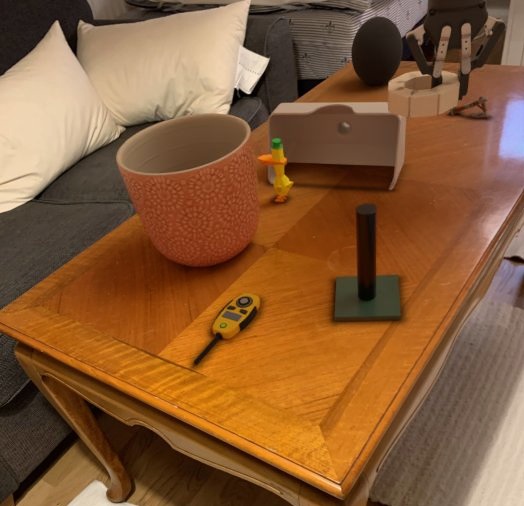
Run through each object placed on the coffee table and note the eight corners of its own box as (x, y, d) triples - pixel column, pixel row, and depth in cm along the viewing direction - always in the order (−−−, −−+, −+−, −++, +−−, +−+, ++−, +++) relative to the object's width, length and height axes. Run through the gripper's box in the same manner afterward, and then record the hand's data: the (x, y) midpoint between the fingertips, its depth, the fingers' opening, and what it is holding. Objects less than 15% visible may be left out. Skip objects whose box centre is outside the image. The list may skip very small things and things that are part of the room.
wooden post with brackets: (490, 117, 108) (484, 96, 106) (455, 128, 114) (449, 107, 112) (494, 114, 109) (488, 92, 107) (459, 124, 115) (453, 104, 113)
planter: (193, 208, 102) (166, 110, 88) (288, 222, 93) (274, 115, 80) (129, 271, 90) (87, 167, 76) (231, 293, 81) (204, 181, 68)
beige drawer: (410, 152, 105) (414, 86, 96) (394, 192, 95) (396, 124, 86) (294, 148, 114) (287, 89, 105) (268, 185, 104) (258, 123, 95)
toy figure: (260, 204, 99) (250, 143, 91) (268, 194, 101) (259, 134, 93) (292, 208, 96) (285, 145, 88) (300, 198, 99) (293, 136, 90)
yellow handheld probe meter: (265, 295, 77) (206, 363, 68) (267, 305, 78) (209, 372, 70) (239, 287, 79) (178, 352, 71) (241, 297, 80) (182, 362, 72)
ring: (439, 83, 84) (440, 63, 82) (472, 106, 76) (474, 85, 74) (375, 100, 84) (375, 80, 82) (402, 124, 76) (403, 103, 74)
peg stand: (397, 281, 77) (401, 187, 67) (400, 322, 71) (405, 226, 61) (336, 283, 79) (331, 192, 68) (334, 323, 73) (328, 230, 62)
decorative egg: (405, 74, 134) (408, 7, 124) (396, 93, 127) (398, 23, 116) (358, 76, 139) (357, 11, 128) (346, 94, 131) (344, 27, 120)
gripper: (512, -54, 68) (492, 85, 80) (402, -35, 71) (399, 95, 83) (524, -42, 63) (501, 104, 75) (406, -23, 66) (402, 115, 78)
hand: (448, 99), depth 79 cm, fingers closed on ring, 2 cm apart
